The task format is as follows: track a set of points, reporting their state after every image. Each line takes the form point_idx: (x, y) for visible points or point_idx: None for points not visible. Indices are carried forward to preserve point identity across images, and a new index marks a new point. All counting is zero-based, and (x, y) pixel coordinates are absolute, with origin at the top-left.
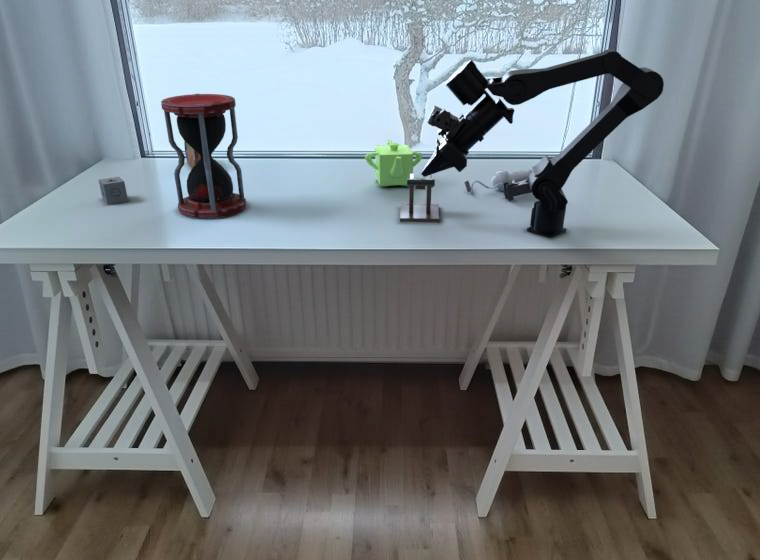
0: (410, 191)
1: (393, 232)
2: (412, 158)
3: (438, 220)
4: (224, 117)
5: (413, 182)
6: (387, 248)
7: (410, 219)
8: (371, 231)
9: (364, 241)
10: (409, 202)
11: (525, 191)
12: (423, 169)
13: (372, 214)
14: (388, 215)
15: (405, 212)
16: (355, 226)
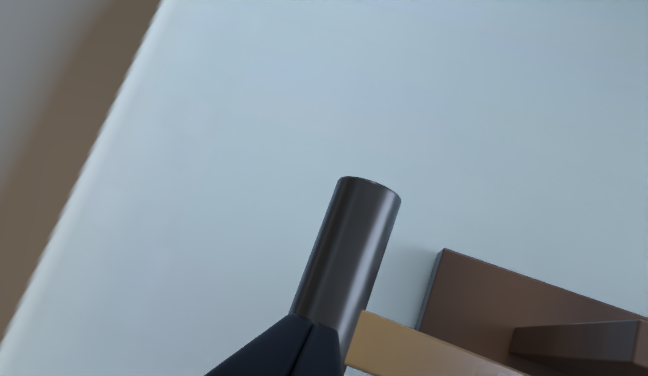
0: (575, 330)
1: (311, 178)
2: None
3: None
4: None
5: (318, 237)
6: (125, 96)
7: (424, 306)
8: (356, 86)
9: (241, 29)
10: (542, 327)
11: None
12: (307, 352)
13: (613, 154)
14: (583, 232)
15: (539, 312)
16: (443, 37)
